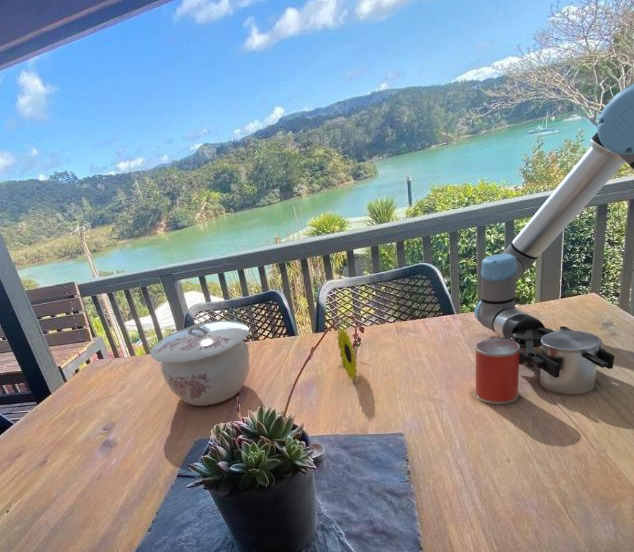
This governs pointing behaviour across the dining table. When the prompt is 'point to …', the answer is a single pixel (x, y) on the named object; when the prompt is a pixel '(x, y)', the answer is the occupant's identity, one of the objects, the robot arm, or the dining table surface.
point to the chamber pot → (205, 361)
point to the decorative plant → (347, 353)
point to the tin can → (497, 371)
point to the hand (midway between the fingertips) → (584, 366)
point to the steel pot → (571, 361)
